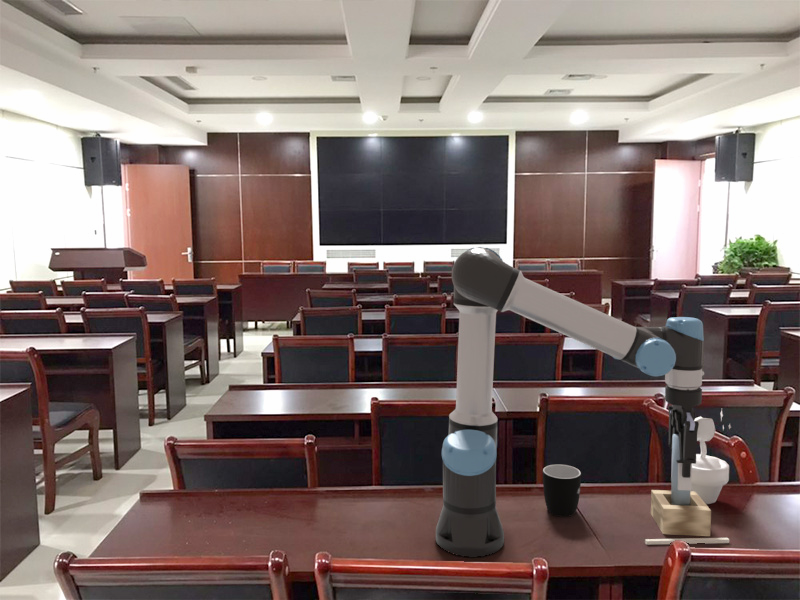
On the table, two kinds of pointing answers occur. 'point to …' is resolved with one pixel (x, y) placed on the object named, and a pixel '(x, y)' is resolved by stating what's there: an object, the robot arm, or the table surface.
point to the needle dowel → (677, 495)
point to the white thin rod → (687, 540)
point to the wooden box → (680, 515)
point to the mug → (561, 489)
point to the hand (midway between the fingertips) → (680, 485)
